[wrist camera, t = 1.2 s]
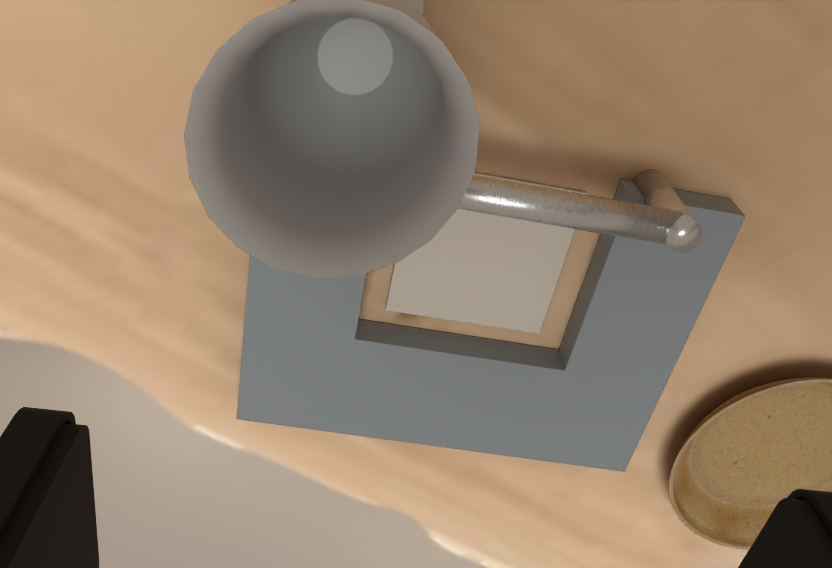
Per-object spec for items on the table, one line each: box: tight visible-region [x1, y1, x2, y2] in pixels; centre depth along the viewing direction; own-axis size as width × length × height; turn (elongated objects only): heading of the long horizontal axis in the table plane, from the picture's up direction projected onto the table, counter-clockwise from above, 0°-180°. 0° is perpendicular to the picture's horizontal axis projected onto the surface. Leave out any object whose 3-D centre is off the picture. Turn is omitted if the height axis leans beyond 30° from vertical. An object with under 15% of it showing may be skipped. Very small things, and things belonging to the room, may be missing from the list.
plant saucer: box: [669, 378, 832, 550], centre depth 46 cm, size 15×15×3 cm
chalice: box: [184, 0, 480, 278], centre depth 25 cm, size 7×7×18 cm
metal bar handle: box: [458, 170, 703, 253], centre depth 34 cm, size 17×2×6 cm, turn 79°
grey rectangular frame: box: [237, 179, 745, 472], centre depth 40 cm, size 24×18×2 cm
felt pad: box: [386, 172, 587, 334], centre depth 39 cm, size 9×9×1 cm
